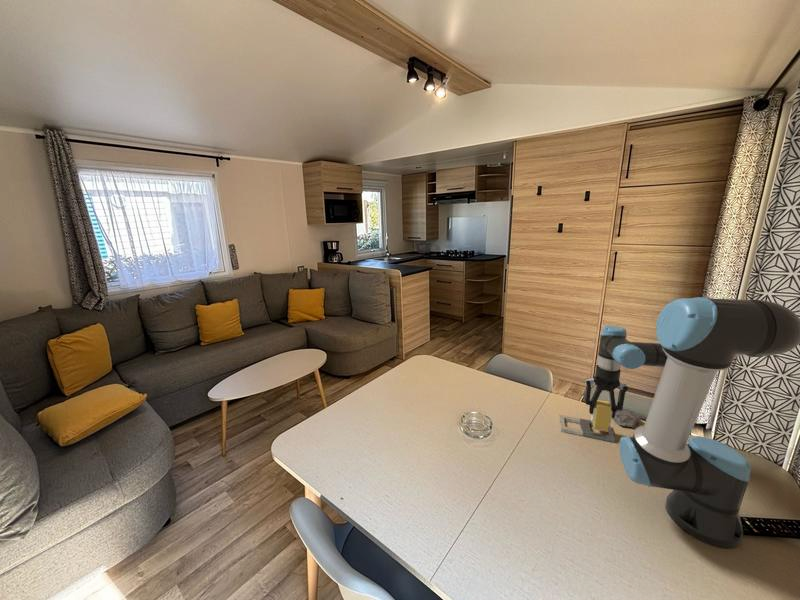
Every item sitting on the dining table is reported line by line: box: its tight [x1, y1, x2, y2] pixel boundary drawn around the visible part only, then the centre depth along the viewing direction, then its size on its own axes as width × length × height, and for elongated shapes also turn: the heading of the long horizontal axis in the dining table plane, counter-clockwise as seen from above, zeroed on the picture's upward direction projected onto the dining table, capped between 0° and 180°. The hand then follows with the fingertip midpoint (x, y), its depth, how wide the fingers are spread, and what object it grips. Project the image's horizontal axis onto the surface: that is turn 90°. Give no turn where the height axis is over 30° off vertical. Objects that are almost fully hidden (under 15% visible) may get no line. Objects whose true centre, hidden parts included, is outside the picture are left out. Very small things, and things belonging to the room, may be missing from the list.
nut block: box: [592, 399, 611, 432], centre depth 120 cm, size 4×4×10 cm
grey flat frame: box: [558, 414, 616, 443], centre depth 124 cm, size 10×18×1 cm, turn 67°
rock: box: [612, 408, 642, 428], centre depth 128 cm, size 9×11×4 cm
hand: (600, 422), depth 120 cm, fingers closed on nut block, 4 cm apart
